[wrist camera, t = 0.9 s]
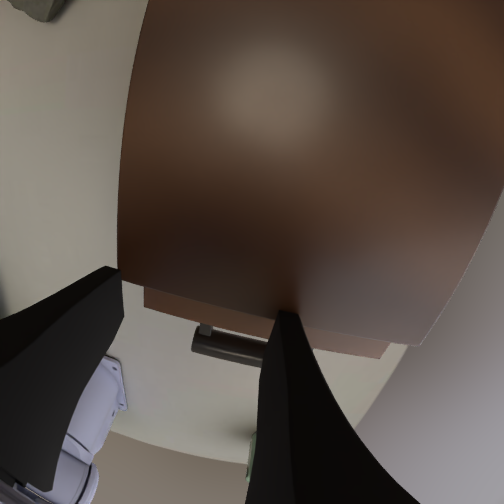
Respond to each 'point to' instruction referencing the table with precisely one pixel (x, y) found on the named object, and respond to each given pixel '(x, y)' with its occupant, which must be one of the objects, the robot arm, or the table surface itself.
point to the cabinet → (313, 157)
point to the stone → (38, 8)
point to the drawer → (248, 331)
